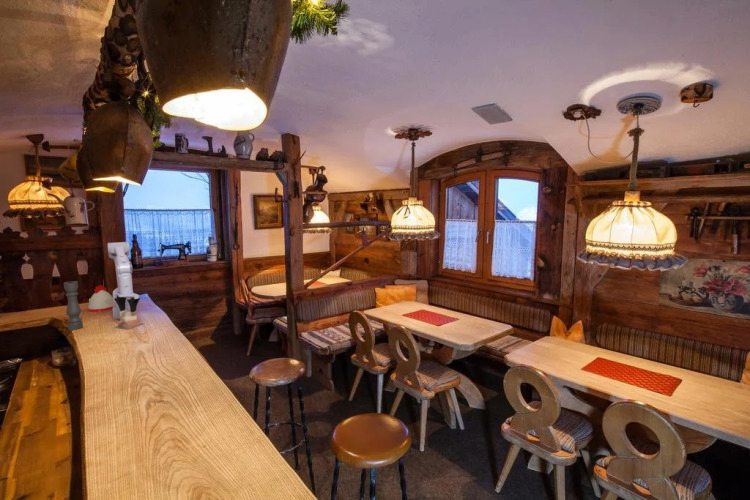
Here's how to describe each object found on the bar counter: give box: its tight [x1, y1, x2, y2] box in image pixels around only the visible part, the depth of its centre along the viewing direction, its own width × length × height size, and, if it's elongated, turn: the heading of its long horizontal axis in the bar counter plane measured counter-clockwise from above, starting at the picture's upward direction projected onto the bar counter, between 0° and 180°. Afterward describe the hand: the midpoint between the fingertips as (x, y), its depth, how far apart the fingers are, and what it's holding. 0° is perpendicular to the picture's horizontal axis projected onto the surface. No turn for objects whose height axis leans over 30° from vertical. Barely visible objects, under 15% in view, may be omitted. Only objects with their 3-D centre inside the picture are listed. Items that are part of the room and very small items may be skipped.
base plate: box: [113, 322, 144, 331], centre depth 197 cm, size 10×10×2 cm
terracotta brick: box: [117, 318, 141, 329], centre depth 196 cm, size 7×7×3 cm
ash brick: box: [119, 310, 138, 322], centre depth 196 cm, size 4×6×5 cm, turn 162°
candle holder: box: [63, 280, 84, 332], centre depth 195 cm, size 6×6×25 cm
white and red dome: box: [87, 284, 115, 313], centre depth 234 cm, size 14×14×15 cm
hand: (128, 311), depth 195 cm, fingers open, 7 cm apart
